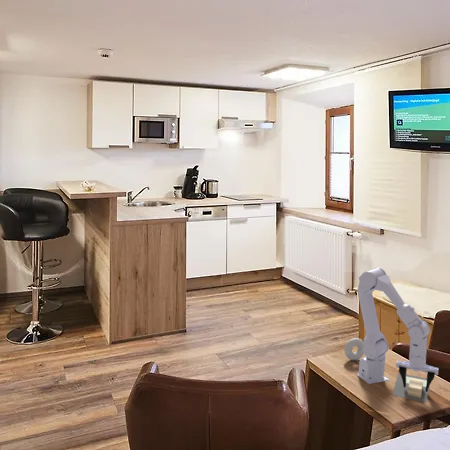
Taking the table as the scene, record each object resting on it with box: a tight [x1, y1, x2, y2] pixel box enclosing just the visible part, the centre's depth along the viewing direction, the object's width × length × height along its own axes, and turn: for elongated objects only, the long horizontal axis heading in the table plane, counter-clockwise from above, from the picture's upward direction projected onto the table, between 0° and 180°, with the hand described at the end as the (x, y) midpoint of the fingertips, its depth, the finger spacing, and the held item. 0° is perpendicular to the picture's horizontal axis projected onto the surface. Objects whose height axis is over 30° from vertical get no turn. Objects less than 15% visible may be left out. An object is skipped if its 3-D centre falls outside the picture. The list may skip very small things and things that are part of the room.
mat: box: [391, 372, 431, 404], centre depth 182 cm, size 20×12×1 cm, turn 154°
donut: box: [343, 337, 365, 361], centre depth 206 cm, size 10×4×10 cm, turn 108°
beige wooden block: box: [408, 378, 423, 398], centre depth 178 cm, size 8×4×3 cm, turn 154°
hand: (415, 388), depth 178 cm, fingers open, 7 cm apart
